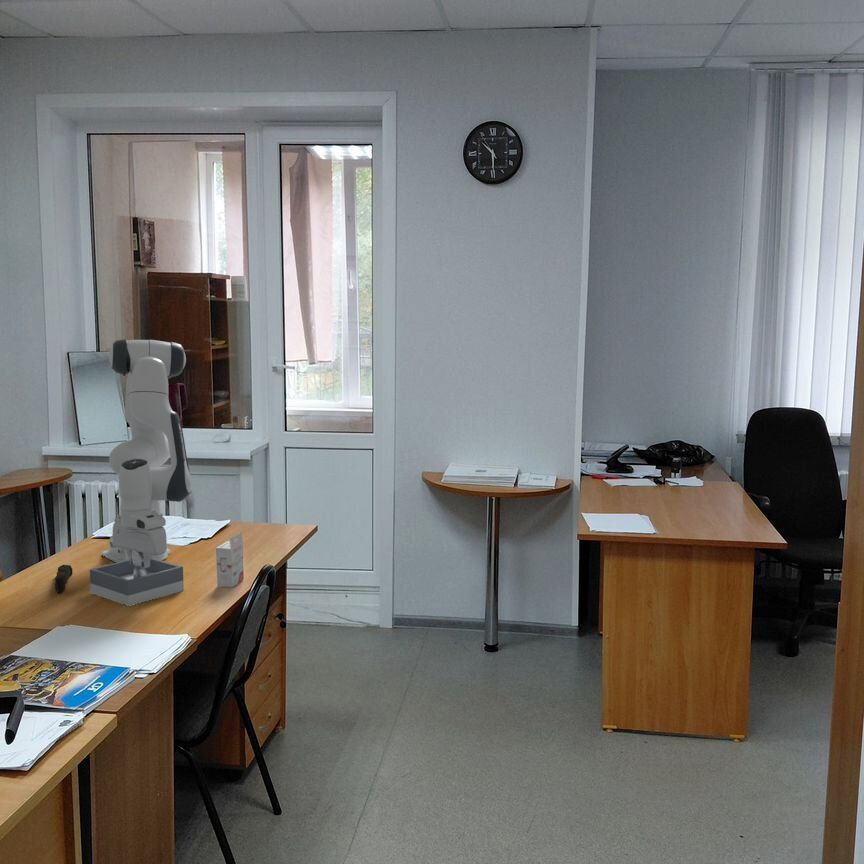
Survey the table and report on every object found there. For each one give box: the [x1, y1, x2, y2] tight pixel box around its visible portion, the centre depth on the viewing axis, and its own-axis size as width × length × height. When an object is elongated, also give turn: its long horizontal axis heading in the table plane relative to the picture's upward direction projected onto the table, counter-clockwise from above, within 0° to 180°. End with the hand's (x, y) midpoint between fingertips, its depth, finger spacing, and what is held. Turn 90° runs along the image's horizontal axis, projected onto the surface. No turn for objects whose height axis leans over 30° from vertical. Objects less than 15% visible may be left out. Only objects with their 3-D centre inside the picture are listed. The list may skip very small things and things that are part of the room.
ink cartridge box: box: [215, 531, 244, 588], centre depth 264 cm, size 9×5×15 cm, turn 168°
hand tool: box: [54, 564, 74, 596], centre depth 261 cm, size 19×4×5 cm, turn 14°
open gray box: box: [89, 558, 185, 607], centre depth 255 cm, size 18×18×7 cm
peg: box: [132, 550, 148, 578], centre depth 254 cm, size 4×4×9 cm
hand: (140, 565), depth 254 cm, fingers closed on peg, 4 cm apart
